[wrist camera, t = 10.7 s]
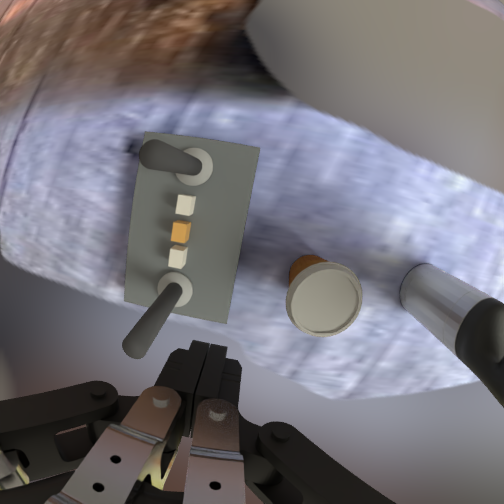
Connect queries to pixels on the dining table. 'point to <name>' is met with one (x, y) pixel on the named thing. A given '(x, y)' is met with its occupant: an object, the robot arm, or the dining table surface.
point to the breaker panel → (201, 231)
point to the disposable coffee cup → (322, 296)
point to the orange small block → (180, 231)
